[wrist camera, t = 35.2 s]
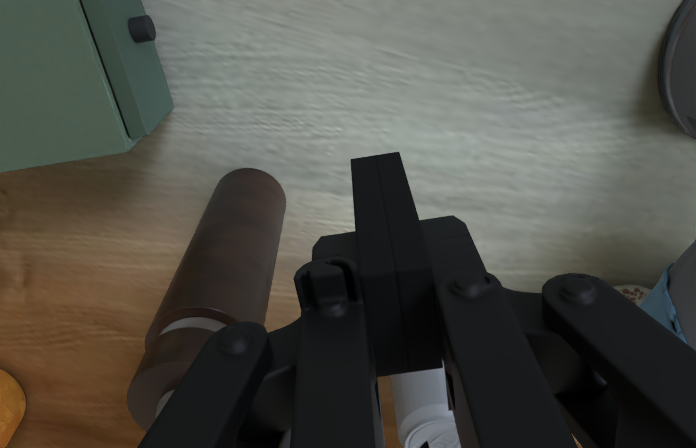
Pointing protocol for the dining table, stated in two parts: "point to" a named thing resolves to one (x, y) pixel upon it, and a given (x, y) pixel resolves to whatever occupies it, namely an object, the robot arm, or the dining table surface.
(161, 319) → the pepper mill
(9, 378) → the wine bottle
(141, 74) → the drawer
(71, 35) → the cabinet
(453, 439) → the beverage can
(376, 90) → the dining table surface
